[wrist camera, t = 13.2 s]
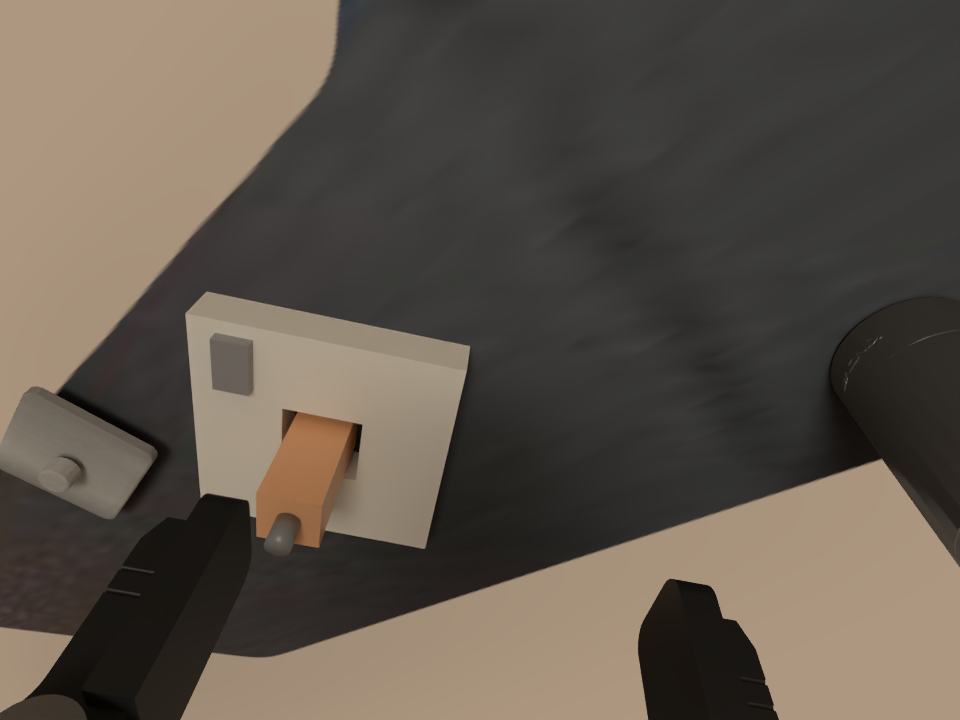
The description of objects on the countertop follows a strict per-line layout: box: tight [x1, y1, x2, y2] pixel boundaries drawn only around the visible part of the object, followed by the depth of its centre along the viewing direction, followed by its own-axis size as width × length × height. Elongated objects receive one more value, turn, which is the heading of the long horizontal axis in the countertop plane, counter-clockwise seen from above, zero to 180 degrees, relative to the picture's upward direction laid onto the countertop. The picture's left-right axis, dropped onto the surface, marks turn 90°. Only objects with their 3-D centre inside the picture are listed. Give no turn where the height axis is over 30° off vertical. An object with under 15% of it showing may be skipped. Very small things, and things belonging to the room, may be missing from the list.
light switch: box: [0, 387, 158, 519], centre depth 46 cm, size 10×10×5 cm
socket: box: [186, 292, 470, 549], centre depth 44 cm, size 18×18×4 cm
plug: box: [256, 412, 358, 556], centre depth 41 cm, size 4×4×12 cm
